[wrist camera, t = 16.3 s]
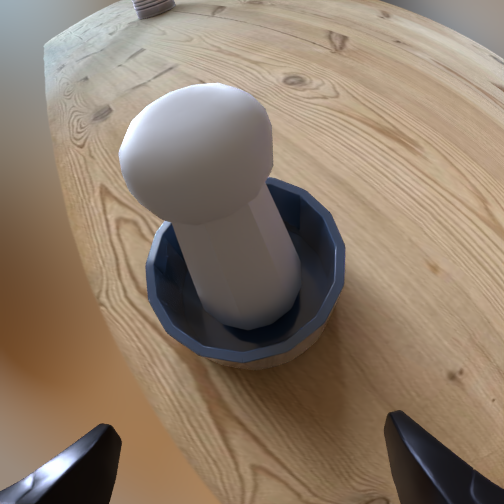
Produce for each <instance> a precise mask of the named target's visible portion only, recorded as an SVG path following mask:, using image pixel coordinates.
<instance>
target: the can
mask: <svg viewBox="0 0 504 504" xmlns="http://www.w3.org/2000/svg"><path fill="white" fill-rule="evenodd" d="M132 2H133V5H134V7H135V10H136V13H137V15H138V18H139V19H144V18H149V17H152V16H155V15H158V14H160V13H163V12H165V11H167V10H170V9H172V8H173V7H174V6H176V5H175V2H174V0H132Z"/></svg>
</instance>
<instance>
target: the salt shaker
mask: <svg viewBox="0 0 504 504" xmlns="http://www.w3.org/2000/svg"><path fill="white" fill-rule="evenodd" d="M119 159H120V165H121V171H122V175H123V177H124V179H125V182H126V184H127V187H128V189H129V191H130V192H131V194H132V195H133V196H134V197H135V198H136V199H137V201H138V202H139V203H140V204H141V205H143V206H144V207H145V208H147V209H148V210H149V211H151V212H152V213H153V214H155V215H156V216H158V217H159V218H160V219H162V220H165V221H167V222H171V223H172V226H173V228H174V231H175V234H176V237H177V240H178V243H179V245H180V248H181V251H182V254H183V256H184V259H185V262H186V264H187V267H188V270H189V272H190V275H191V278H192V280H193V283H194V285H195V288H196V291H197V293H198V296H199V298H200V301H201V303H202V306H203V308H204V310H205V311H206V312H207V313H209V314H210V315H211V316H213V317H214V318H215V319H216V320H218V321H219V322H220V323H221V324H224V325H228V326H232V327H236V328H240V329H245V330H252V329H255V328H259V327H263V326H266V325H270V324H273V323H274V322H275V321H276V320H278V319H279V318H280V317H282V316H283V315H284V314H285V313H287V312H288V311H289V310H290V309H291V308H292V306H293V304H294V302H295V299H296V297H297V295H298V292H299V290H300V288H301V285H302V279H301V261H300V259H299V257H298V254H297V252H296V250H295V248H294V245H293V243H292V241H291V238H290V236H289V234H288V232H287V229H286V227H285V225H284V223H283V220H282V218H281V216H280V214H279V211H278V209H277V207H276V205H275V203H274V200H273V198H272V196H271V194H270V192H269V190H268V187H267V185H266V183H265V181H266V180H267V178H268V176H269V174H270V172H271V170H272V167H273V144H272V125H271V122H270V120H269V117H268V114H267V112H266V109H265V108H264V107H263V106H262V105H261V104H260V103H259V102H258V101H257V100H256V99H255V98H254V97H253V96H252V95H251V94H249V93H247V92H245V91H243V90H241V89H238V88H235V87H231V86H228V85H224V84H220V83H211V84H197V85H192V86H188V87H185V88H182V89H178V90H175V91H172V92H169V93H168V94H166V95H164V96H163V97H161V98H159V99H158V100H156V101H154V102H153V103H151V104H149V105H148V106H147V107H146V108H145V109H144V110H143V111H142V112H141V113H140V114H139V115H138V116H137V117H136V118H135V119H134V120H133V121H132V122H131V124H130V126H129V128H128V131H127V133H126V135H125V138H124V140H123V143H122V145H121V148H120V151H119Z"/></svg>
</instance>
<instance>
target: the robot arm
mask: <svg viewBox="0 0 504 504" xmlns="http://www.w3.org/2000/svg"><path fill="white" fill-rule="evenodd" d="M384 436H385V441H386V446H387V451H388V457H389V462H390V468H391V473H392V476H393V480H394V483H395V486H396V489H397V493H398V496H399V499H400V503H401V504H504V489H503V488H501V487H499V486H498V485H496V484H494V483H493V482H491V481H490V480H488V479H487V478H486V477H484V476H483V475H481V474H480V473H479V472H478V471H476V470H475V469H474V470H473V468H472V467H471V466H470V465H468V464H467V463H466V462H465V461H463V460H462V459H461V458H460V457H458V456H457V455H456V454H455V453H453V452H452V451H451V450H449V449H448V448H447V447H446V446H445V445H443V444H442V443H441V442H440V441H438V440H437V439H436V438H435V437H433V436H432V435H431V434H430V433H428V432H427V431H426V430H425V429H423V428H422V427H421V426H420V425H419V424H417V423H416V422H415V421H414V420H412V419H411V418H410V417H409V416H408V415H406V414H405V413H404V412H403V411H401V410H397V411H393V412H390V413H388V415H387V418H386V422H385V426H384ZM121 446H122V441H121V438H120V436H119V435H118V434H117V432H116V431H115V429H114V428H113V427H112V426H111V425H109V424H103V423H102V424H99V425H98V426H96V427H95V428H94V429H92V430H91V431H90V432H88V433H87V434H86V435H84V436H83V437H82V438H80V439H79V440H77V441H76V442H75V443H74V444H72V445H71V446H69V447H68V448H66V449H65V450H64V451H63V452H61V453H60V454H58V455H57V456H55V457H54V458H53V459H51V460H50V461H48V462H47V463H45V464H44V465H43V466H41V467H40V468H38V469H37V470H35V472H33V473H31V474H30V475H28V476H27V477H25V478H23V479H22V480H20V481H19V482H17V483H15V484H13V485H11V486H10V487H8V488H6V489H4V490H2V491H0V504H109V502H110V498H111V495H112V491H113V487H114V484H115V480H116V475H117V469H118V463H119V457H120V451H121Z"/></svg>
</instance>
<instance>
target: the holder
mask: <svg viewBox="0 0 504 504" xmlns="http://www.w3.org/2000/svg"><path fill="white" fill-rule="evenodd" d="M265 183H266V185H267V187H268V190H269V192H270V194H271V196H272V198H273V200H274V203H275V205H276V207H277V209H278V211H279V214H280V216H281V218H282V220H283V223H284V225H285V227H286V229H287V232H288V234H289V236H290V238H291V241H292V243H293V245H294V248H295V250H296V252H297V254H298V257H299V259H300V261H301V279H302V285H301V288H300V290H299V292H298V295H297V297H296V299H295V302H294V304H293V306H292V308H291V309H290V310H289V311H288V312H287V313H285V314H284V315H283V316H282V317H280V318H279V319H278V320H276V321H275V322H274V323H273V324H270V325H266V326H263V327H259V328H255V329H252V330H245V329H240V328H236V327H232V326H228V325H224V324H221V323H220V322H219V321H218V320H216V319H215V318H214V317H213V316H211V315H210V314H209V313H207V312H206V311H205V310H204V308H203V306H202V303H201V301H200V298H199V296H198V293H197V291H196V288H195V285H194V283H193V280H192V278H191V275H190V272H189V270H188V267H187V264H186V262H185V259H184V256H183V254H182V251H181V248H180V245H179V243H178V240H177V237H176V234H175V231H174V228H173V226H172V223H171V222H167V221H164V223H163V224H162V225H161V226H160V228H159V229H158V230H157V232H156V234H155V237H154V240H153V243H152V246H151V249H150V252H149V255H148V258H147V262H146V266H145V267H146V281H147V292H148V300H149V303H150V305H151V306H152V308H153V310H154V312H155V314H156V315H157V317H158V319H159V321H160V322H161V324H162V326H163V328H164V329H165V331H166V332H167V334H169V335H170V336H171V337H173V338H174V339H176V340H177V341H178V342H180V343H181V344H183V345H184V346H186V347H187V348H189V349H190V350H191V351H193V352H194V353H196V354H197V355H199V356H201V357H204V358H206V359H209V360H211V361H214V362H216V363H219V364H221V365H225V366H231V367H236V368H240V369H250V370H260V369H266V368H271V367H275V366H278V365H281V364H284V363H287V362H290V361H292V360H293V359H294V358H296V357H297V356H299V355H300V354H302V353H303V352H305V351H306V350H307V349H308V348H309V347H310V346H311V345H312V344H313V343H315V342H316V341H317V340H318V339H319V337H320V335H321V333H322V331H323V330H324V328H325V326H326V324H327V322H328V320H329V318H330V316H331V314H332V313H333V311H334V308H335V306H336V304H337V301H338V299H339V297H340V294H341V292H342V289H343V287H344V280H345V244H344V242H343V240H342V237H341V235H340V233H339V230H338V228H337V226H336V223H335V221H334V219H333V217H332V215H331V213H330V212H329V211H328V210H327V209H326V208H325V207H324V206H323V205H321V204H320V203H319V202H318V201H317V200H316V199H315V198H314V197H313V196H312V195H310V194H309V193H308V192H307V191H306V190H304V189H302V188H299V187H297V186H294V185H292V184H289V183H286V182H284V181H281V180H278V179H276V178H271V177H268V178H267V180H266V181H265Z"/></svg>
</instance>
